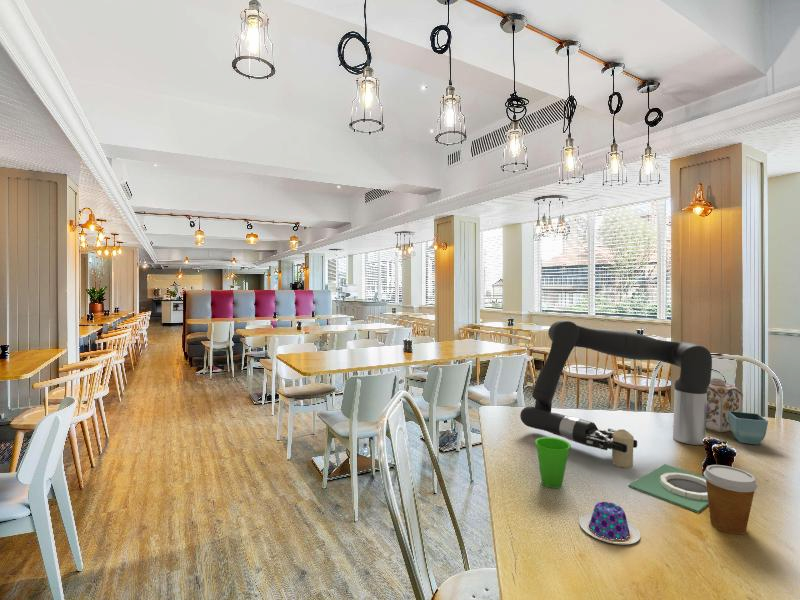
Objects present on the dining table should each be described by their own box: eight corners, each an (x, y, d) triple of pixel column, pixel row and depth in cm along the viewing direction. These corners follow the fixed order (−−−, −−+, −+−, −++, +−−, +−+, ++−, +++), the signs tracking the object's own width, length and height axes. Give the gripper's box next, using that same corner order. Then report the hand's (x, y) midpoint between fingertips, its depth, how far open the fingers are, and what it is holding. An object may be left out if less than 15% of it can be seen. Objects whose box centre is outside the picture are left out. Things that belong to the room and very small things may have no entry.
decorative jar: (742, 429, 159) (744, 381, 158) (721, 433, 155) (723, 383, 154) (709, 420, 170) (711, 374, 169) (688, 423, 166) (690, 376, 165)
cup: (569, 478, 118) (570, 439, 118) (570, 494, 109) (571, 451, 109) (534, 473, 121) (535, 435, 121) (533, 488, 112) (534, 446, 112)
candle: (635, 468, 125) (636, 434, 124) (614, 467, 126) (615, 433, 125) (629, 461, 130) (630, 428, 130) (609, 459, 131) (610, 427, 131)
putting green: (664, 465, 127) (664, 460, 127) (731, 487, 114) (731, 480, 114) (628, 486, 114) (628, 480, 114) (699, 513, 101) (699, 506, 101)
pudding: (607, 552, 86) (608, 527, 86) (567, 520, 98) (568, 498, 98) (654, 542, 90) (654, 517, 90) (609, 512, 102) (610, 490, 101)
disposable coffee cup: (759, 544, 89) (761, 487, 89) (703, 529, 94) (705, 476, 94) (751, 522, 97) (754, 470, 97) (700, 510, 102) (702, 460, 102)
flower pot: (735, 444, 144) (736, 417, 144) (726, 435, 153) (727, 410, 152) (767, 448, 141) (769, 421, 141) (757, 439, 149) (758, 413, 149)
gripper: (565, 423, 135) (620, 439, 121) (590, 414, 143) (643, 429, 130) (564, 446, 135) (619, 465, 122) (589, 437, 144) (642, 453, 130)
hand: (631, 446), depth 126 cm, fingers closed on candle, 5 cm apart
